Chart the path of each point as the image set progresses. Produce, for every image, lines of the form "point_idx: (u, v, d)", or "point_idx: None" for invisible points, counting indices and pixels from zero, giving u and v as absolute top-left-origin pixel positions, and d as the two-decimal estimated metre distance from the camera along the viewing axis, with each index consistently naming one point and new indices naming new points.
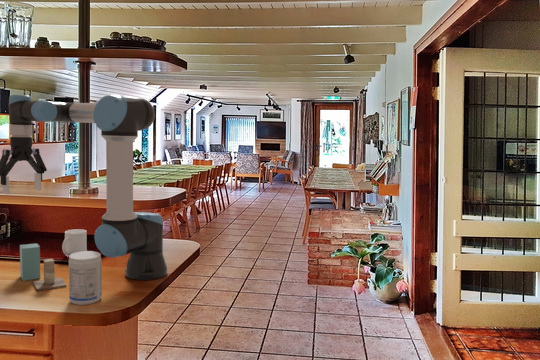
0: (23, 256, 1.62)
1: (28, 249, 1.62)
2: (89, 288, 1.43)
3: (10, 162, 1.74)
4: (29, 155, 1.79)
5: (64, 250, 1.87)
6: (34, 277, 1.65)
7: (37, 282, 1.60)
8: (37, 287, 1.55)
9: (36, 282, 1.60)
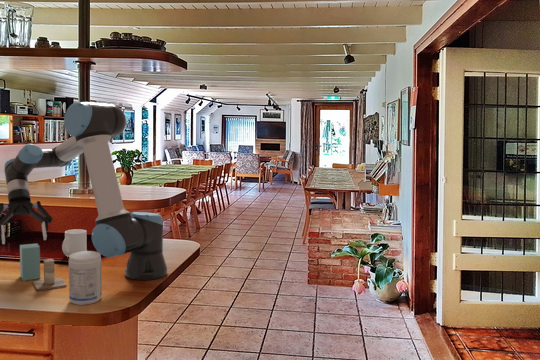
0: (23, 256, 1.62)
1: (28, 249, 1.62)
2: (89, 288, 1.43)
3: None
4: (27, 205, 1.78)
5: (64, 250, 1.87)
6: (34, 277, 1.65)
7: (37, 282, 1.60)
8: (37, 287, 1.55)
9: (36, 282, 1.60)
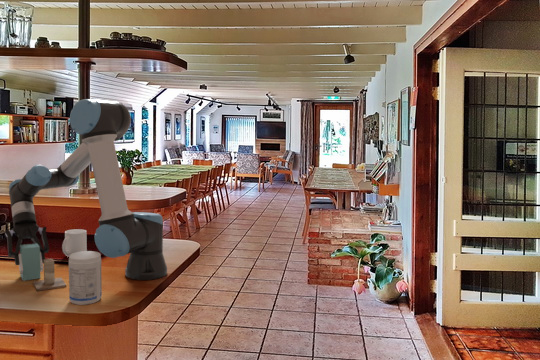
0: (23, 256, 1.62)
1: (28, 249, 1.62)
2: (89, 288, 1.43)
3: None
4: (31, 230, 1.71)
5: (64, 250, 1.87)
6: (34, 277, 1.65)
7: (37, 282, 1.60)
8: (37, 287, 1.55)
9: (36, 282, 1.60)
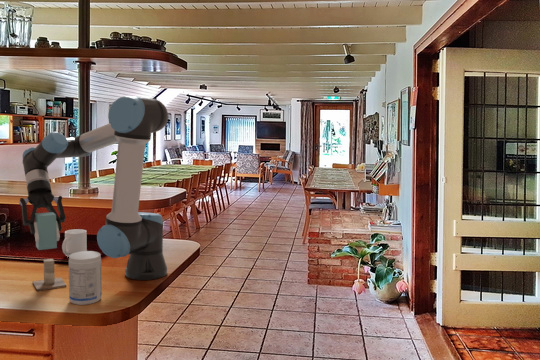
0: (39, 224, 1.54)
1: (44, 217, 1.55)
2: (89, 288, 1.43)
3: (32, 210, 1.60)
4: (47, 198, 1.63)
5: (64, 250, 1.87)
6: (50, 246, 1.57)
7: (37, 282, 1.60)
8: (37, 287, 1.55)
9: (36, 282, 1.60)
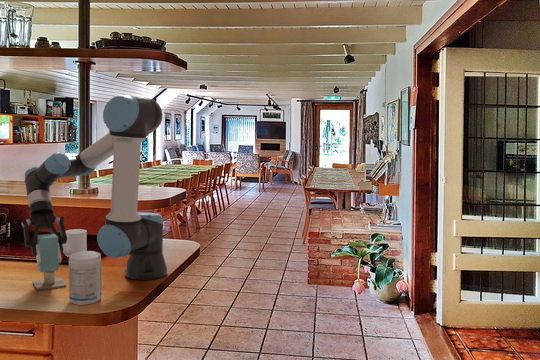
0: (41, 246, 1.55)
1: (46, 239, 1.55)
2: (89, 288, 1.43)
3: None
4: (48, 219, 1.63)
5: (64, 250, 1.87)
6: (52, 269, 1.57)
7: (37, 282, 1.60)
8: (37, 287, 1.55)
9: (36, 282, 1.60)
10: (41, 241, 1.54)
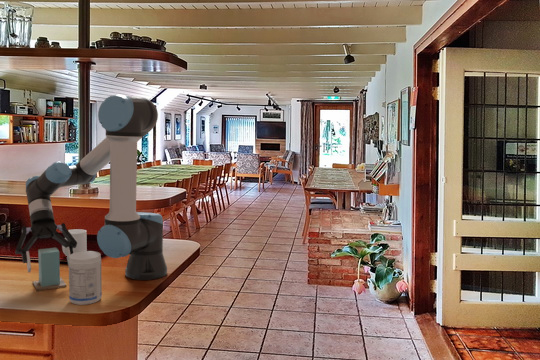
0: (42, 261, 1.55)
1: (47, 254, 1.56)
2: (89, 288, 1.43)
3: None
4: (51, 228, 1.64)
5: (64, 250, 1.87)
6: (53, 283, 1.58)
7: (37, 282, 1.60)
8: (37, 287, 1.55)
9: (36, 282, 1.60)
10: (42, 256, 1.55)
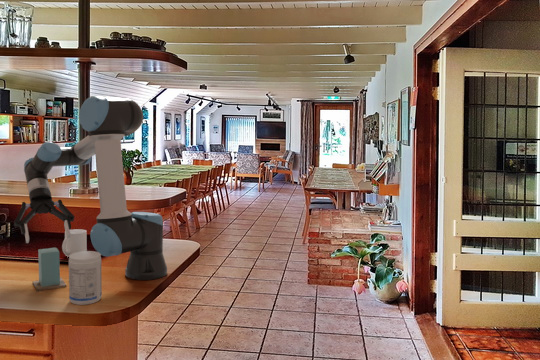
0: (42, 261, 1.55)
1: (47, 254, 1.56)
2: (89, 288, 1.43)
3: None
4: (48, 204, 1.77)
5: (64, 250, 1.87)
6: (53, 283, 1.58)
7: (37, 282, 1.60)
8: (37, 287, 1.55)
9: (36, 282, 1.60)
10: (42, 256, 1.55)
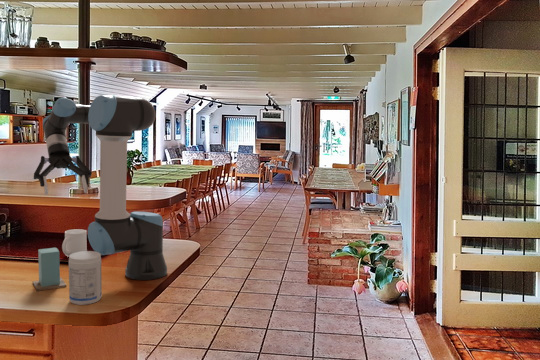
0: (42, 261, 1.55)
1: (47, 254, 1.56)
2: (89, 288, 1.43)
3: None
4: (67, 159, 1.80)
5: (64, 250, 1.87)
6: (53, 283, 1.58)
7: (37, 282, 1.60)
8: (37, 287, 1.55)
9: (36, 282, 1.60)
10: (42, 256, 1.55)
